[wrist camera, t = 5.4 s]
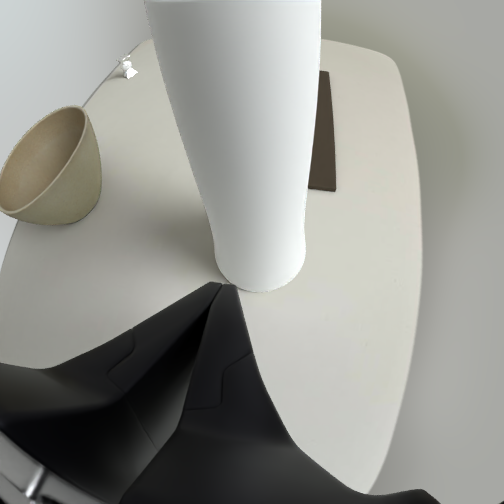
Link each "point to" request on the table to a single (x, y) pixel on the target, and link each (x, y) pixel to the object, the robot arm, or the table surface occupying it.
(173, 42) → the cosmetic bottle
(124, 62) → the wrapped candy
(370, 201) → the table surface
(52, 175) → the bowl
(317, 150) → the mat
